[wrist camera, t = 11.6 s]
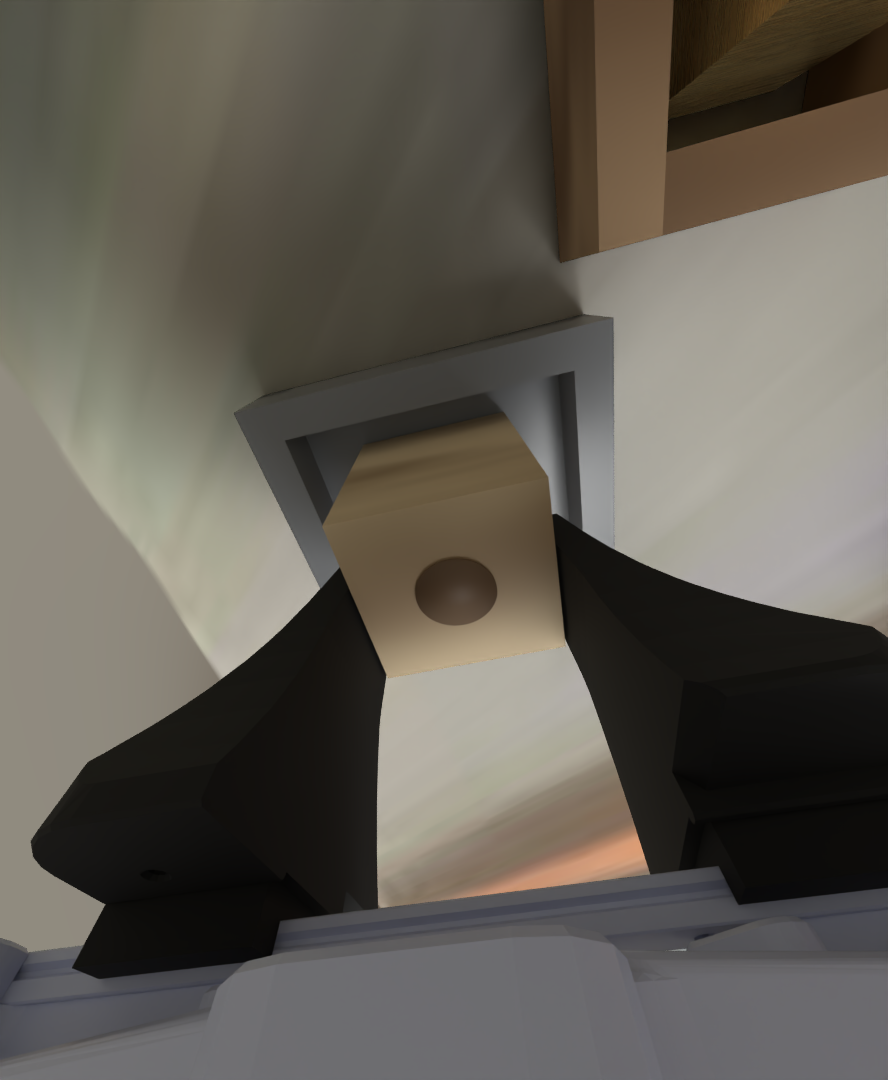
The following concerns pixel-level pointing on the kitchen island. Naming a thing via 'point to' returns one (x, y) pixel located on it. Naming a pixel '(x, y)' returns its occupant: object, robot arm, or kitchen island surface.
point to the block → (450, 547)
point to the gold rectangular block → (756, 45)
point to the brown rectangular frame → (701, 169)
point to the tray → (449, 422)
